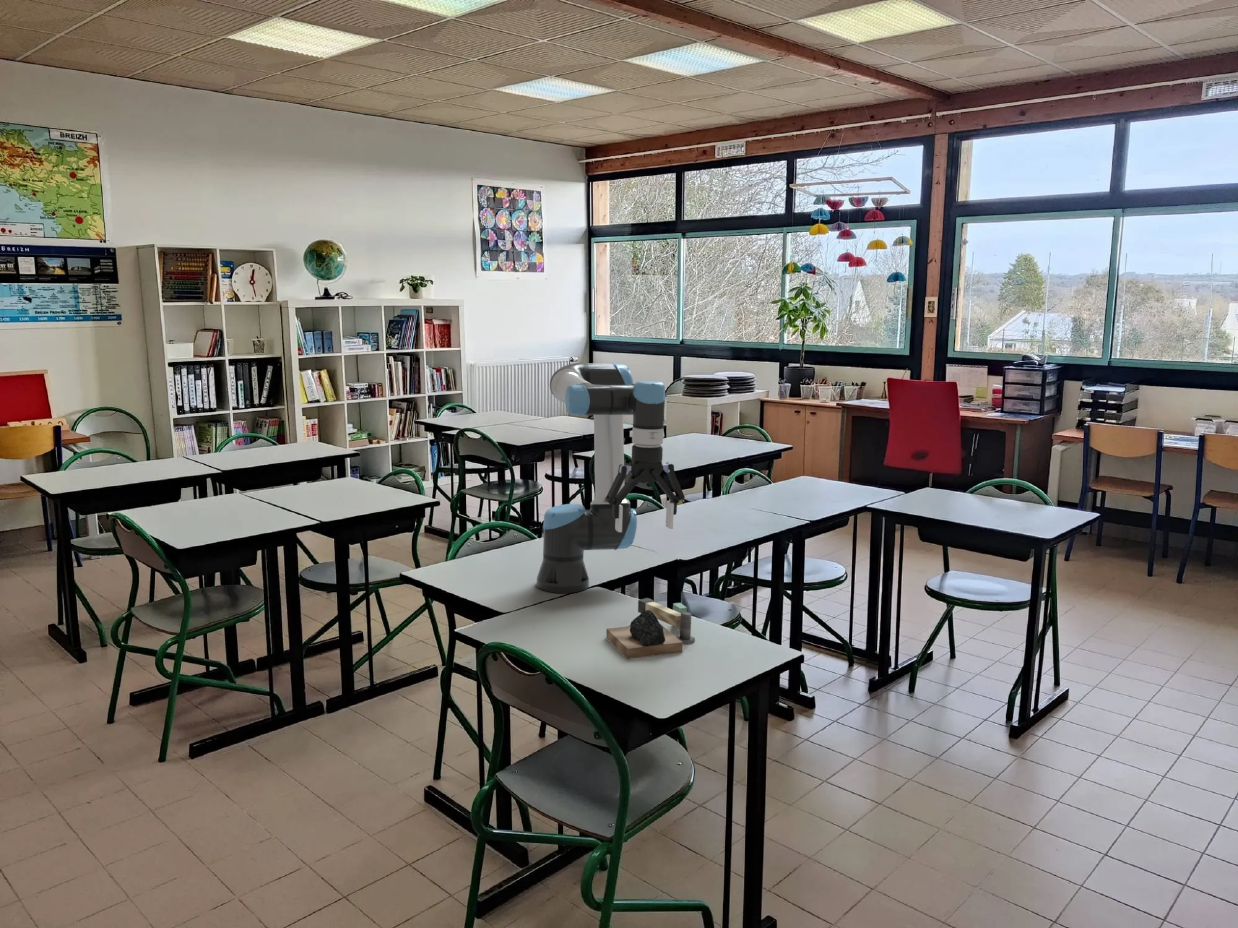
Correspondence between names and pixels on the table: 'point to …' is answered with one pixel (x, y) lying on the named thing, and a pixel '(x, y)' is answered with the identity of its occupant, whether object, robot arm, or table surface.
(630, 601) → the table surface
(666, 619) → the leg
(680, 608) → the pale green block
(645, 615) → the rock
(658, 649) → the seat
